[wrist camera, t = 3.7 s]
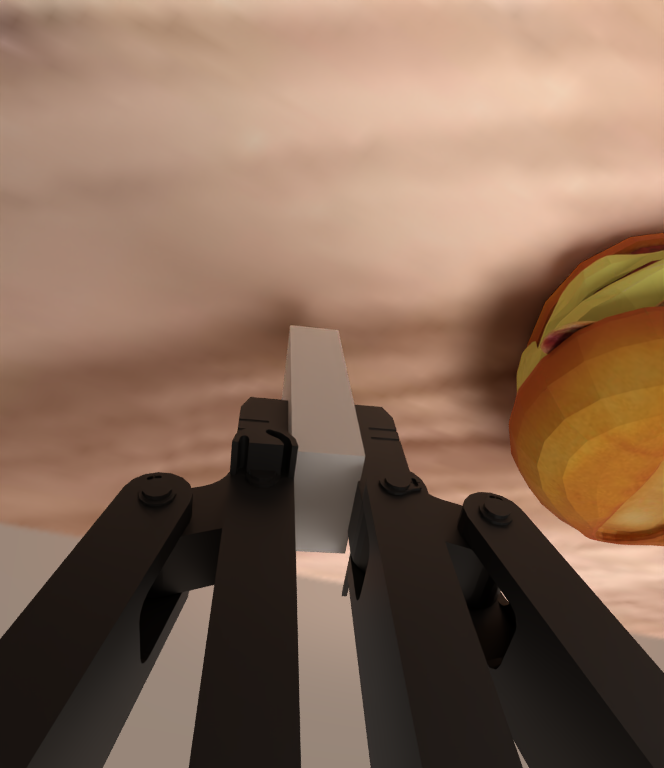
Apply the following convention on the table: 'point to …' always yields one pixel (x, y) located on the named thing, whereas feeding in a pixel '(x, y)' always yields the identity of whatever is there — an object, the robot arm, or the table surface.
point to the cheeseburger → (598, 397)
